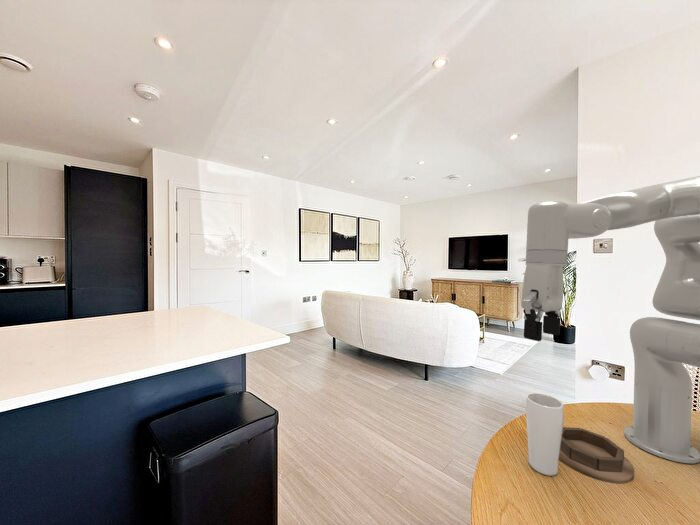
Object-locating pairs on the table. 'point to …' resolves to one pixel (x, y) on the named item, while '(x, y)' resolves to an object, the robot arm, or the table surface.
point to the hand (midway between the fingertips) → (542, 336)
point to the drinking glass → (544, 432)
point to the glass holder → (594, 456)
